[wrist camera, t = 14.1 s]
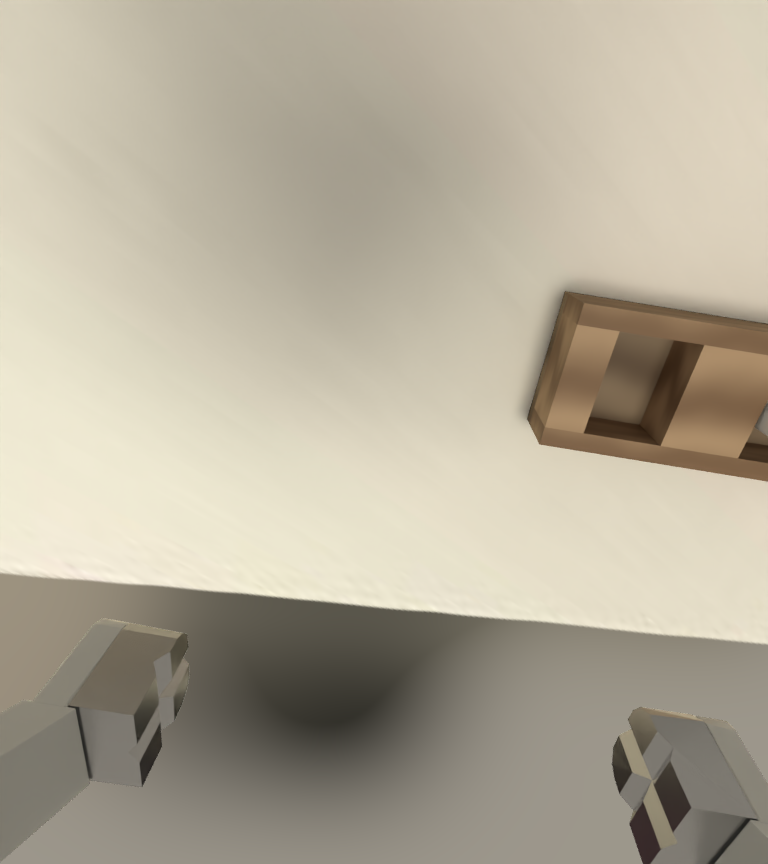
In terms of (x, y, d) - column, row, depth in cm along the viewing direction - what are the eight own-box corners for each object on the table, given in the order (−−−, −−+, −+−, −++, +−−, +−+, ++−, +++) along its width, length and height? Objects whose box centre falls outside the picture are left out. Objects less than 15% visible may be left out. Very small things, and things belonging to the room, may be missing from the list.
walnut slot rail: (565, 291, 38) (584, 303, 34) (870, 340, 38) (930, 358, 34) (527, 419, 43) (539, 444, 38) (798, 463, 43) (843, 493, 38)
